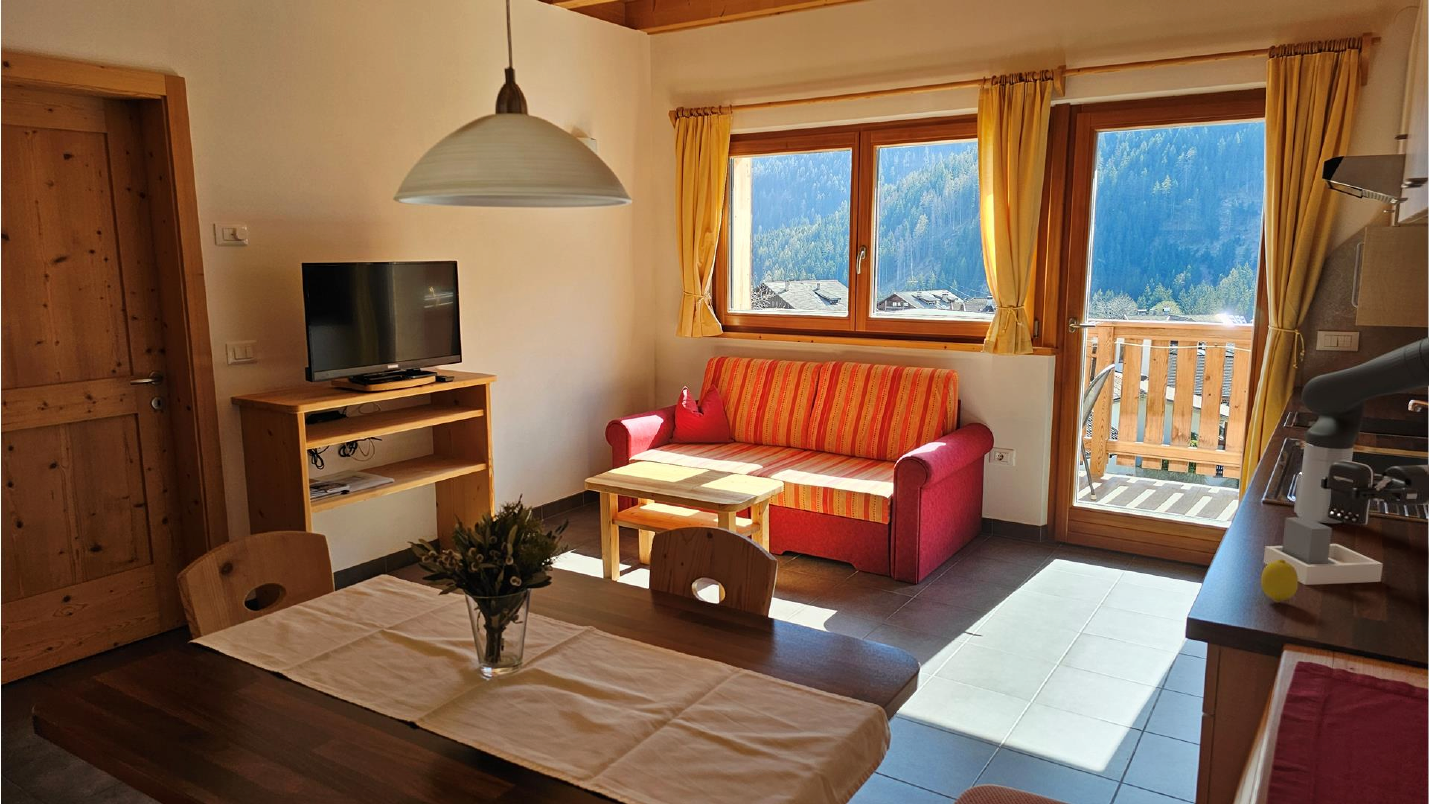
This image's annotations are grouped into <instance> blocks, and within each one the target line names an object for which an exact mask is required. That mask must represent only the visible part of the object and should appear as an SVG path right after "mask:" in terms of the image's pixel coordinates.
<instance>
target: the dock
mask: <svg viewBox="0 0 1429 804" xmlns="http://www.w3.org/2000/svg"><path fill="white" fill-rule="evenodd" d="M1283 529H1284V531H1283V539H1282V545H1274V546H1273V545H1270V546H1269V545H1267V546H1264V554H1263V555H1264V556H1263V564H1264V563H1265V564H1264V565H1266V564H1267V565H1268V564H1269V563H1271V562H1273V561H1277V560H1279V559H1283V560H1284V561H1285V562H1287V563H1289V564H1290V565H1292V566H1293V567H1294V569H1295V570H1296V573H1297V576H1298V583H1301V584H1303V585H1305V586H1306V585H1308V586H1309V585H1311V586H1312V585H1330V584H1353V583H1354V584H1355V583H1377V582H1381V579H1382V572H1383V566H1384V565H1383V564H1384V563H1382V562H1380V561H1377V560H1375V559H1372V558H1371V557H1368V556H1365V555H1363V554H1361V553H1359V552H1357V551H1354V550H1352V549H1350V548H1347V547H1346V546H1343V545H1341V544H1338V543H1331V538H1332V533H1333V532H1332V531H1333V528H1332V527H1329V526H1328V525H1325V524H1324V523H1323V524H1322V523H1321V522H1316V521H1313V520H1311V519H1308V518H1306V517H1299V516H1297V517H1295V516H1293V517H1285V522H1284V528H1283ZM1267 565H1266V566H1267Z"/></svg>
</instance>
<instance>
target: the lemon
mask: <svg viewBox="0 0 1429 804" xmlns="http://www.w3.org/2000/svg"><path fill="white" fill-rule="evenodd" d="M1260 579H1261V581H1260V584H1261V588H1262V591H1263V593H1265V595H1266V596H1268V597H1269V598H1270V599H1272V600H1273V602H1274V603H1277V604H1279V603H1281V602H1282V601H1287V600H1289V599H1291V598H1292V597H1293V596H1294V595H1295V593H1296V592H1297V590H1298V586H1299V581H1298V576H1297V573H1296V570H1295V569H1294V567H1293V566H1292V565H1290V564H1289V563H1287V562H1285V561H1284V560H1283V559H1279V560H1277V561H1273V562H1271V563H1269V564H1268V565H1266V566H1265V567H1264V569H1263V570H1262V574H1261V578H1260Z"/></svg>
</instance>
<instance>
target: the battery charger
mask: <svg viewBox="0 0 1429 804" xmlns="http://www.w3.org/2000/svg"><path fill="white" fill-rule="evenodd" d="M1374 474H1375V472H1374V469H1373V468H1372V467H1371V466H1370V465H1368V464H1364V463H1360V462H1355V461H1352V462H1351V461H1345V460H1343V461H1339V462H1335V463H1333V464H1332V465H1331V466H1330V468H1329V473H1328V480H1327V487H1330V488H1331V501H1330V506H1329V509H1328V513H1327V516H1328V517H1329V518H1331V519H1334V520H1338V521H1341V522H1342V523H1346V524H1350V525H1355V526H1362V525H1363V526H1364V525H1367V524H1369V521H1370V520H1369V517H1370V508H1371V501H1372V499H1371V500H1354V499H1352V498H1351V496H1352V489H1353V488H1358V487H1372V488H1373V483H1374Z"/></svg>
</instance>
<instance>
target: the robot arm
mask: <svg viewBox="0 0 1429 804" xmlns="http://www.w3.org/2000/svg"><path fill="white" fill-rule="evenodd" d="M1426 387H1429V337H1426V338H1422V339H1421V340H1417V341H1415V342H1411V343H1410V344H1406V345H1404V346H1401V347H1399V348H1396V349H1394V350H1392V351H1390V352H1387V353H1385V354H1382V355H1380V356H1378V357H1377V356H1376V358H1373V359H1371V360H1369V361H1366V362H1364V363H1361V364H1359V365H1356V366H1353V367H1349V368H1347V369H1343V370H1338V371H1334V372H1330V373H1326V374H1321V375H1317V376H1314V377H1313V378H1311V379H1310V380H1309V381H1308V382H1307V383H1306V384H1305V385H1304V387H1303V389H1302V391H1301V402H1302V405H1303V406H1304V407H1305V409H1307V410H1308V411H1309V412H1311V413H1313V414H1315V415H1319V416H1318V418H1317V421H1316V422H1315V424H1312V426H1311V427H1309V429H1307V431H1306V433H1305V439H1304V447H1303V448H1304V449H1303V457H1302V465H1301V472H1299V473H1297V474H1298V475H1297V481H1296V483H1297V484H1296V492H1295V500H1294V507H1293V509H1294V510H1293V512H1294V513H1295V514H1296V516H1297V517H1306V518H1308V519H1311V520H1313V521H1316V522H1318V523H1320V524H1322V523H1323V524H1341V523H1343V522H1341V521H1338V520H1334V519H1331V518H1329V517H1328V516H1327V513H1328V509H1329V506H1330V501H1331V488H1330V487H1327V480H1328V473H1329V468H1330V466H1331V465H1332V464H1333V463H1335V462H1339V461H1343V460H1345V461H1351V462H1353V454H1354V446H1355V441H1356V438H1358V436H1359V433H1360V431H1361V428H1362V422H1363V416H1364V411H1365V406H1366V400H1368V399H1373V398H1375V397H1380V396H1386V395H1387V396H1388V395H1394V394H1399V393H1404V392H1409V391H1410V392H1411V391H1415V390H1418V389H1421V388H1422V389H1423V388H1426ZM1351 498H1352V499H1354V500H1371V501H1372V500H1373V501H1374V502H1380V501H1381V502H1383V503H1385V504H1387V505H1388V504H1391V505H1394V506H1397V507H1398V506H1400V507H1401V506H1402V507H1403V506H1405V507H1406V506H1420V505H1421V506H1422V505H1423V506H1426V505H1427V506H1428V505H1429V464H1420V465H1395V466H1390V467H1388V468H1386V469H1385V470H1384V471H1383V473H1382V474H1378V473H1374V483H1373V488H1372V487H1358V488H1353V489H1352V496H1351Z"/></svg>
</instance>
